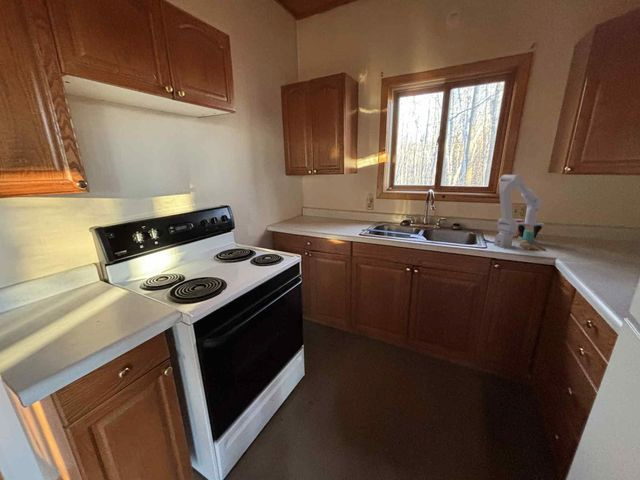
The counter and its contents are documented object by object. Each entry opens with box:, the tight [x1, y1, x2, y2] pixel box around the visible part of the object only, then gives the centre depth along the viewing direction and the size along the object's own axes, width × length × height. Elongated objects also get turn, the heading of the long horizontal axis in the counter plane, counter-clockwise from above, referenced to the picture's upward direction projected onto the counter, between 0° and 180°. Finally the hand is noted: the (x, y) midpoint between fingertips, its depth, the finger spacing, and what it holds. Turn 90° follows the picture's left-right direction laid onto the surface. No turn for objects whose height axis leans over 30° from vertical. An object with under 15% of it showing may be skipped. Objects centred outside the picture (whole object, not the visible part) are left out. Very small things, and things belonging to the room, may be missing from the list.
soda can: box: [513, 218, 523, 238], centre depth 192 cm, size 7×7×12 cm
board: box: [523, 229, 534, 241], centre depth 173 cm, size 2×9×7 cm, turn 166°
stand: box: [517, 236, 538, 246], centre depth 174 cm, size 6×12×3 cm, turn 164°
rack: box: [519, 243, 547, 252], centre depth 162 cm, size 10×10×2 cm
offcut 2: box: [522, 243, 531, 251], centre depth 161 cm, size 2×4×3 cm, turn 164°
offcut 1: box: [519, 240, 527, 249], centre depth 165 cm, size 2×4×4 cm, turn 164°
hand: (527, 237), depth 174 cm, fingers open, 6 cm apart
